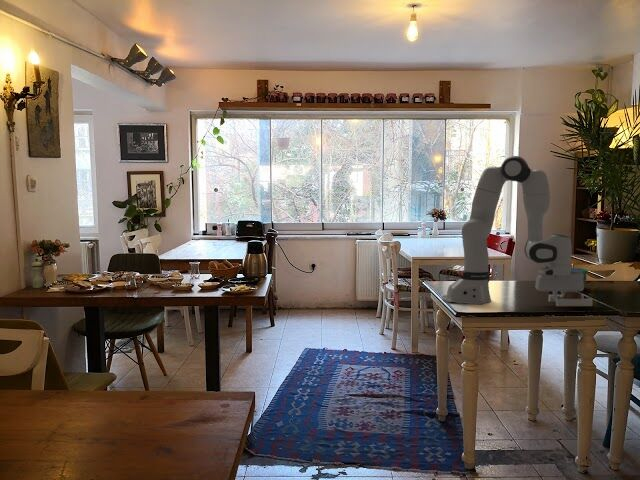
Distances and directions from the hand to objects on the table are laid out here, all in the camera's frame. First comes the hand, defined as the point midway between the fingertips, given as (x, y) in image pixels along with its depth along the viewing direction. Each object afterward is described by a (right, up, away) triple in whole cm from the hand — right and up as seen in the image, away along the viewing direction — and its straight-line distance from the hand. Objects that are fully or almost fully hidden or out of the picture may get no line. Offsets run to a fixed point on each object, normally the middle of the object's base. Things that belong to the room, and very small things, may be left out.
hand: (558, 300), depth 229 cm
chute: (+5, -2, 0) cm, 5 cm away
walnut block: (+6, -1, 0) cm, 6 cm away
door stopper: (+13, 0, +28) cm, 31 cm away
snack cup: (+27, +2, +39) cm, 47 cm away
